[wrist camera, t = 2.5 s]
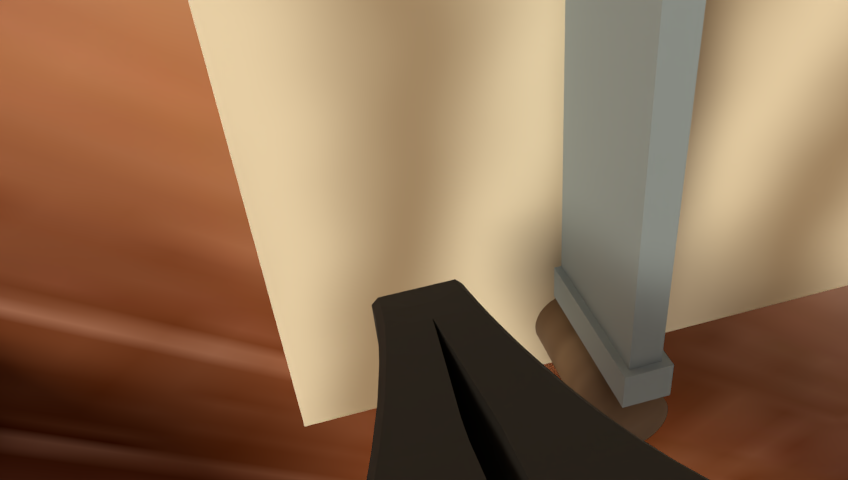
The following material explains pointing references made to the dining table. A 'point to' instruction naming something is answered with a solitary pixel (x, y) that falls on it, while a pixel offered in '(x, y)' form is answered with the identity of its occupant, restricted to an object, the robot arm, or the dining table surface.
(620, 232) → the grey flat bar
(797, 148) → the beige base plate
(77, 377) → the dining table surface
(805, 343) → the dining table surface
